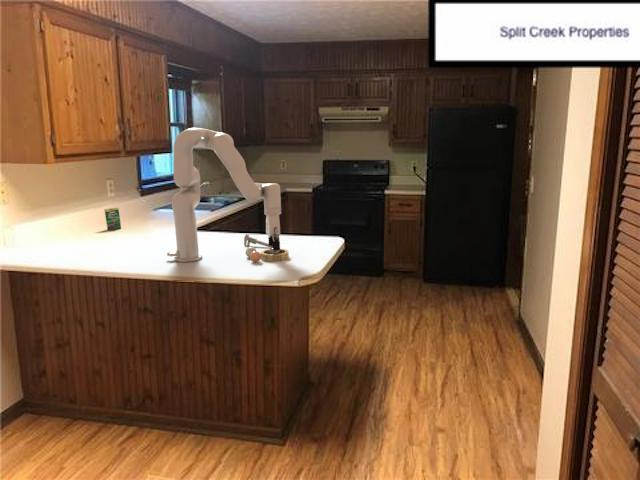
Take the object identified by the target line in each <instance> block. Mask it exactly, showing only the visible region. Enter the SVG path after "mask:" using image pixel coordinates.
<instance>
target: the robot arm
mask: <svg viewBox="0 0 640 480" xmlns="http://www.w3.org/2000/svg"><path fill="white" fill-rule="evenodd" d="M173 142H174V143H173V182H174V184H175V185H176V186H177V187H179V191H178V192H176V193H175V194H174V195H173V196H172V198H171V209H172V212H173V219H174V227H175V228H174V229H175V239H176V240H175V243H176V250H174V251H167V252H166V254H167V257H169V256H170V257H174V261H175V262H180V263H181V262H182V263H188V262H189V263H190V262H194V261H199V260H201V259H203V254H201V253H200V252H199V241H198V240H199V239H198V226H197V218H196V217H197V216H196V212H195V208H197V206H198V205H199V204H200V202H201V201H200V200H201V175H200V172H199V170H198V169H197V168H196V167H195V166H194V154H193V150H194V149H195V148H203V149H208V150H212V151H214V153H215V154H216V156H217V157H218V158H219V160H220V161H221V163H222V164H223V166H224V167H225V168H226V170H227V171H228V173H229V176H230V177H231V179H232V181H233V182H234V184H235V186H236V188H237V189H238V191H239V192H240V193H241V194H242V196H243V197H244V198H245V200H247V201H248V202H251V203H252V202H253V203H254V202H257V201H259V200H260V199H263V205H264V208H263V209H264V212H263V213H264V215H265V234H266V235H267V236H268V244H269V246H273V250H274V251H275V250H280V249H281V242H280V241H281V240H280V236H281V224H280V215H282V203H281V202H282V197H281V186H280V184H279V183H277V182H276V183H275V182H271V183H270V182H269V183H261V182H255V181H254V180H253V178H252V177H251V176H250V174H249V172H248V170H247V167H246V161H245V159H244V158H243V156H242V155H241V153H240V152H239V151H238V149H236V147H235V144H234V139H233V137H232V136H231V135H230V134H229V133H225V132H219V131H214V130H211V129H206V128H203V127H202V128H201V127H191V128H187V129H185V130H183V131H181V132H180V133H178V134H177V136H176V138H175V140H174V141H173Z"/></svg>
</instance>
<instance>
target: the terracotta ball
mask: <svg viewBox="0 0 640 480" xmlns="http://www.w3.org/2000/svg"><path fill="white" fill-rule="evenodd" d="M249 260H250V261H251V262H253V263H259V261H261V260H262V259H261V252H260V251H257V250H256V251H253V252H252V253H251V254H250V257H249Z"/></svg>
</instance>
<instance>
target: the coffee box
mask: <svg viewBox="0 0 640 480" xmlns="http://www.w3.org/2000/svg"><path fill="white" fill-rule="evenodd" d="M104 215H105V223H106V230H107V231H112V230H120V229H122V225H121V217H120V211H119V207H112V208H104Z"/></svg>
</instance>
